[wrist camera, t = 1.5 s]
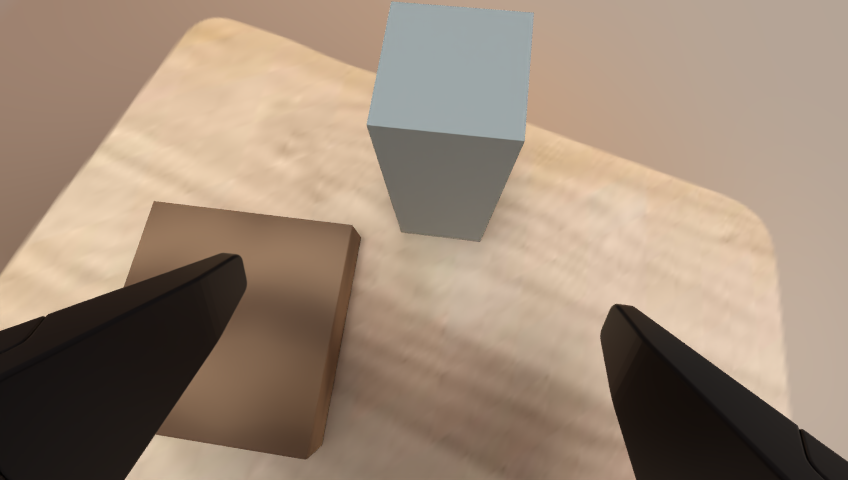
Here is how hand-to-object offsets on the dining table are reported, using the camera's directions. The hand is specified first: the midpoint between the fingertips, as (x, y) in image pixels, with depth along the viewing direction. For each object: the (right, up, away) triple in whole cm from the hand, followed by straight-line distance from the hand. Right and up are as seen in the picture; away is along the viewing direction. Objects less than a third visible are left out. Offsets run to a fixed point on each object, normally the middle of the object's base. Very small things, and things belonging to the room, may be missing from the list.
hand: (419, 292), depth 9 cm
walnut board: (-11, -4, +13) cm, 17 cm away
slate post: (+1, +4, +15) cm, 15 cm away
